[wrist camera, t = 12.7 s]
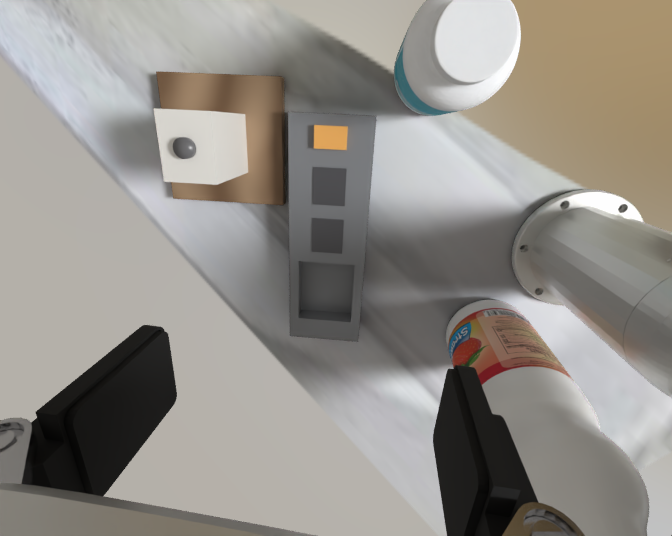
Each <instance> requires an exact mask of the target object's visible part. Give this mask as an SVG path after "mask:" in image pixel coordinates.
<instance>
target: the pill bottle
mask: <svg viewBox="0 0 672 536" xmlns="http://www.w3.org/2000/svg"><path fill="white" fill-rule="evenodd" d="M520 38H521V32H520V23H519V18H518V15H517V12H516V10H515V7H514V5H513V3H512V2H511V0H426V1H425V2H424V3H423V4H422V6H421V7H420V8H419V10H418V11H417V13H416V14H415V16H414V18H413V20H412V21H411V24H410V26H409V28H408V30H407V33H406V35H405V38H404V40H403V43H402V45H401V47H400V50H399V52H398V55H397V58H396V62H395V66H394V82H395V87H396V90H397V93H398V95H399V97H400V98H401V100H402V101H403V103H404V104H405V105H406V106H407V107H408V108H410V109H411V110H413V111H414V112H416V113H418V114H422V115H426V116H435V115H442V114H446V113H451V112H457V111H461V110H466V109H469V108H472V107H475V106H477V105H479V104H481V103H482V102H484V101H486V100H487V99H489V98H490V97H491V96H492V95H493V94H495V93H496V92H497V91H498V90H499V89H500V88H501V87H502V85H503V84H504V83H505V81H506V80H507V78H508V77H509V75H510V74H511V72H512V70H513V67H514V65H515V63H516V60H517V56H518V53H519V47H520Z"/></svg>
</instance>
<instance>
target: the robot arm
mask: <svg viewBox="0 0 672 536" xmlns="http://www.w3.org/2000/svg"><path fill="white" fill-rule="evenodd" d="M561 202H563V203H562V205H560V204H561ZM522 245H523V247H521V246H522ZM520 247H521V248H520ZM511 259H512V267H513V271H514V273H515V276H516V278H517V280H518V281H519V283H520V284H521V286H522V287H523V288H524V289H525V290H526V291H527V292H528V293H530V294H531V295H532V296H533V297H535V298H537V299H539V300H541V301H543V302H546V303H550V304H554V305H564V306H566V307H567V308H568V309H569V310H570V311H571V312H572V313H573V314H575V315H576V316H577V317H578V318H579V319H580V320H581V321H582V322H583V323H584V324H585V325H587V326H588V327H589V328H590V329H591V330H592V331H593V332H594V333H595V334H596V335H597V336H599V337H600V338H601V339H602V340H603V341H604V342H605V343H606V344H607V345H608V346H609V347H611V348H612V349H613V350H614V351H615V352H616V353H617V354H618V355H619V356H620V357H622V358H623V359H624V360H625V361H626V362H627V363H628V364H629V365H630V366H631V367H632V368H634V369H635V370H636V371H637V372H638V373H639V374H641V375H642V376H643V377H644V378H645V379H646V380H647V381H648V382H650V383H651V384H652V385H653V386H655V387H656V388H657V389H659V390H660V391H661V392H663V393H665V394H666V395H668V396H670V397H672V232H669V231H666V230H663V229H661V228H658V227H655V226H652V225H649V224H647V223H644V221H643V219H642V217H641V215H640V213H639V211H638V210H637V209H636V208H635V207H634V206H633V204H632V203H630V202H629V201H627V200H626V199H624V198H623V197H621V196H618V195H615V194H613V193H610V192H606V191H602V190H590V189H586V190H578V191H572V192H569V193H565V194H562V195H560V196H558V197H556V198H553V199H551V200H549V201H548V202H546V203H545V204H543V205H542V206H540V207H539V208H538V209H537V210H536V211H534V212H533V213H532V214H531V215H530V216H529V217H528V219H527V220H526V221H525V222H524V224H523V225H522V226H521V228H520V230H519V232H518V234H517V236H516V238H515V241H514V244H513V248H512V258H511ZM176 397H177V392H176V385H175V378H174V371H173V364H172V358H171V351H170V344H169V337H168V334H167V332H164V329H163V328H162V327H157V326H150V325H143V326H142V327H140V328H139V329H138V330H136V331H135V332H134V333H133V334H132V335H130V336H129V337H128V338H127V339H125V340H124V341H123V342H122V343H120V344H119V345H118V346H117V347H115V348H114V349H113V350H112V351H110V352H109V353H108V354H107V355H106V356H104V357H103V358H102V359H101V360H99V361H98V362H97V363H96V364H94V365H93V366H92V367H91V368H90V369H88V370H87V371H86V372H84V373H83V374H82V375H81V376H79V377H78V378H77V379H76V380H75V381H73V382H72V383H71V384H70V385H68V386H67V387H66V388H65V389H63V390H62V391H61V392H60V393H58V394H57V395H56V396H55V397H54V398H52V399H51V400H50V401H49V402H47V403H46V404H45V405H44V406H42V407H41V408H40V409H39V410H37V412H36V415H37V418H36V419H35V420H34V421H33V422H32V423H31V422H30V421H28V420H27V419H23V418H10V419H5V420H0V536H316V535H310V534H305V533H300V532H294V531H290V530H284V529H279V528H274V527H269V526H263V525H258V524H252V523H247V522H241V521H236V520H231V519H225V518H220V517H214V516H209V515H203V514H198V513H192V512H187V511H182V510H176V509H171V508H165V507H159V506H153V505H148V504H143V503H136V502H131V501H126V500H120V499H114V498H109V497H103V496H104V494H105V493H106V492H107V491H108V490H109V488H110V487H111V486H112V484H113V483H114V482H115V480H116V479H117V478H118V477H119V475H120V474H121V473H122V471H123V470H124V469H125V467H126V466H127V465H128V464H129V462H130V461H131V460H132V458H133V457H134V456H135V454H136V453H137V452H138V451H139V449H140V448H141V447H142V445H143V444H144V443H145V441H146V440H147V439H148V437H149V436H150V435H151V434H152V432H153V431H154V430H155V428H156V427H157V426H158V425H159V423H160V422H161V421H162V419H163V418H164V417H165V415H166V414H167V413H168V412H169V410H170V409H171V408H172V406H173V405H174V403H175V401H176ZM433 444H434V451H435V458H436V465H437V471H438V478H439V485H440V491H441V498H442V504H443V511H444V518H445V524H446V531H447V536H585V535H584V533H583V532H582V531H581V530H580V528H579V527H578V526H577V525H576V524H575V523H574V522H573V521H572V520H571V519H570V518H569V517H567V516H566V515H565V514H564V513H562V512H560V511H559V510H557V509H555V508H554V507H552V506H549V505H546V504H543V503H539V502H538V500H537V497H536V495H535V493H534V490H533V488H532V485H531V483H530V480H529V478H528V475H527V473H526V470H525V468H524V466H523V463H522V461H521V458H520V456H519V453H518V451H517V448H516V446H515V444H514V441H513V439H512V436H511V434H510V431H509V429H508V426H507V424H506V422H505V420H504V418H503V417H502V416H501V415H496V414H492V412H491V409H490V406H489V404H488V401H487V398H486V396H485V393H484V390H483V388H482V385H481V382H480V379H479V377H478V374H477V371H476V369H475V368H474V367H468V366H461V365H455V366H454V369H448V371H447V374H446V379H445V383H444V388H443V392H442V397H441V402H440V406H439V411H438V415H437V420H436V424H435V429H434V434H433ZM671 536H672V535H671Z"/></svg>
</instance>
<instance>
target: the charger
mask: <svg viewBox="0 0 672 536" xmlns="http://www.w3.org/2000/svg"><path fill="white" fill-rule="evenodd" d="M154 115H155V122H156V129H157V136H158V143H159V150H160V157H161V164H162V171H163V178H164V182H178V183H195V184H212V185H218V184H221V183H223V182H226V181H228V180H231V179H233V178H236V177H238V176H241V175H243V174H246V173H248V159H247V139H246V120H245V114H238V113H227V112H216V111H199V110H177V109H155V108H154Z"/></svg>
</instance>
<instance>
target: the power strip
mask: <svg viewBox="0 0 672 536" xmlns="http://www.w3.org/2000/svg"><path fill="white" fill-rule="evenodd" d="M375 127H376V116H369V115H347V114H326V113H304V112H288V159H289V280H290V336H297V337H309V338H321V339H332V340H344V341H356V342H358V337H359V325H360V313H361V300H362V288H363V276H364V263H365V251H366V238H367V226H368V214H369V201H370V189H371V176H372V164H373V152H374V139H375Z"/></svg>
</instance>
